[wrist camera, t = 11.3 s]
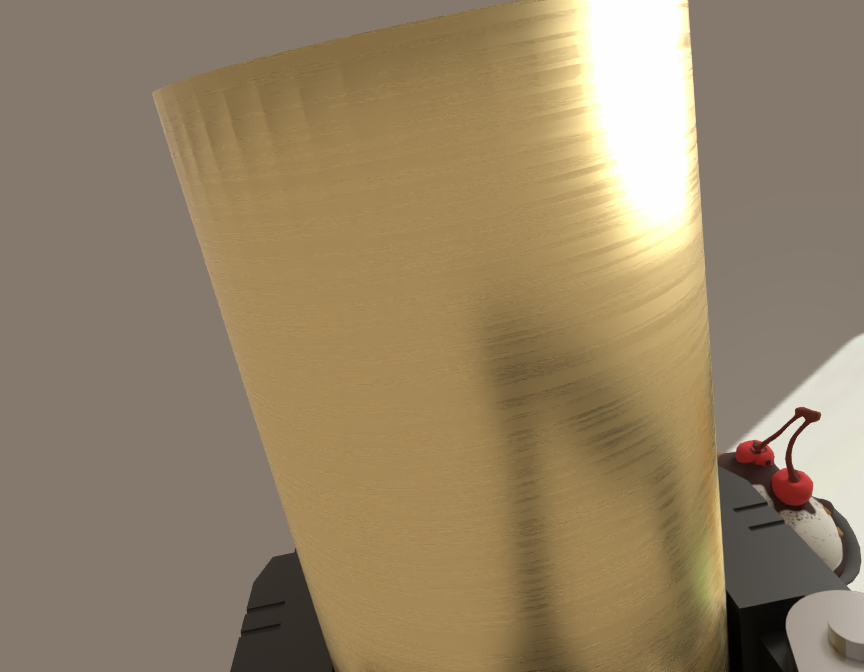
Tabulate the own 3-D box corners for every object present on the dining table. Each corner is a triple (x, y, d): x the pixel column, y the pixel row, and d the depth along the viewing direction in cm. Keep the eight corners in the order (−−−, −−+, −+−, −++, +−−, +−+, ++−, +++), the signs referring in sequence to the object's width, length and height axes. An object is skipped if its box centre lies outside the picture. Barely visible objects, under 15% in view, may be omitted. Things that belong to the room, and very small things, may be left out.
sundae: (904, 801, 24) (922, 425, 19) (724, 861, 24) (692, 490, 18) (783, 659, 30) (772, 346, 25) (638, 703, 30) (596, 392, 25)
